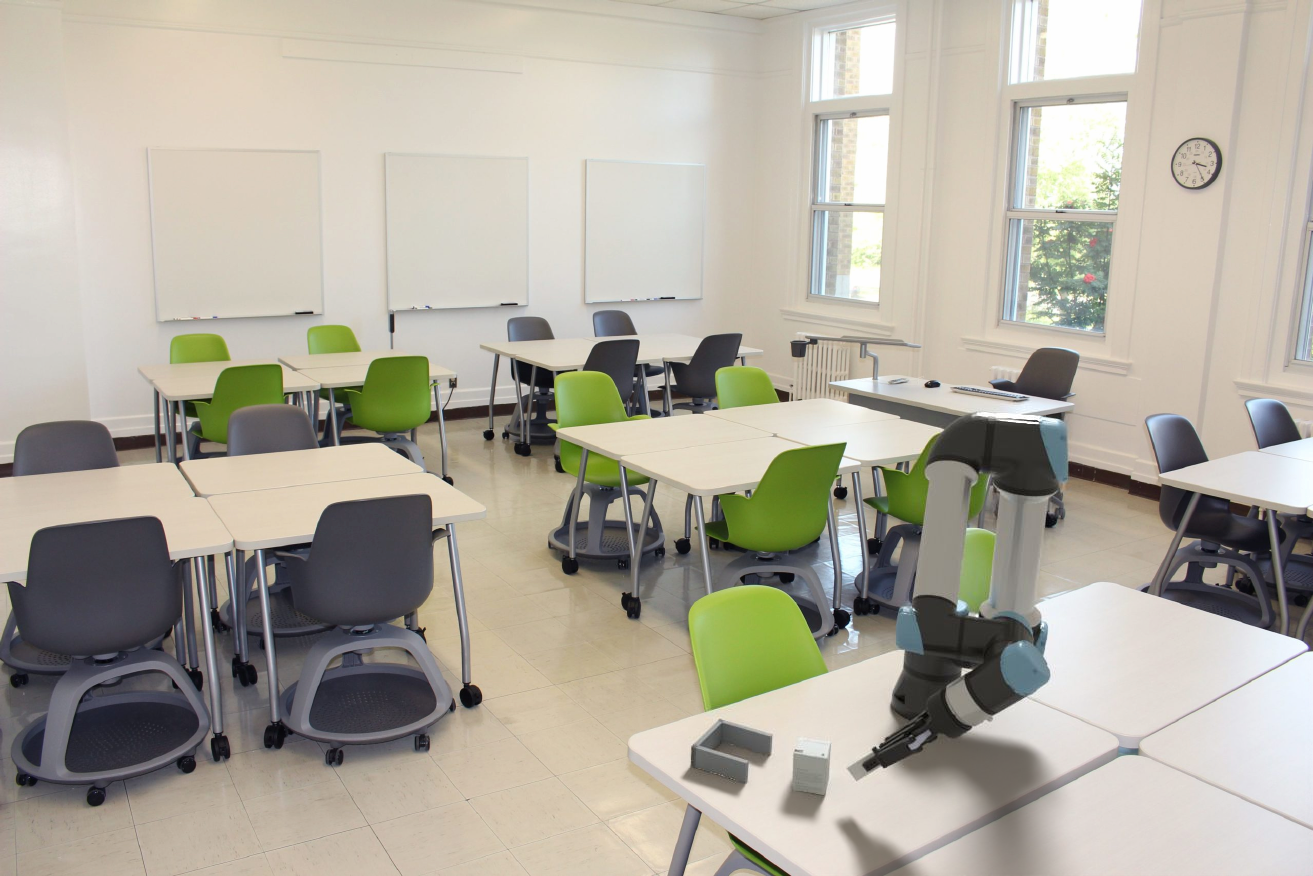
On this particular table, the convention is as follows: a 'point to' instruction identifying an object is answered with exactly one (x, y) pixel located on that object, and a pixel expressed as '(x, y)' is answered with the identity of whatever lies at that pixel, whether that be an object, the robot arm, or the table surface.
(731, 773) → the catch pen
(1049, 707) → the table surface
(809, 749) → the skincare box
